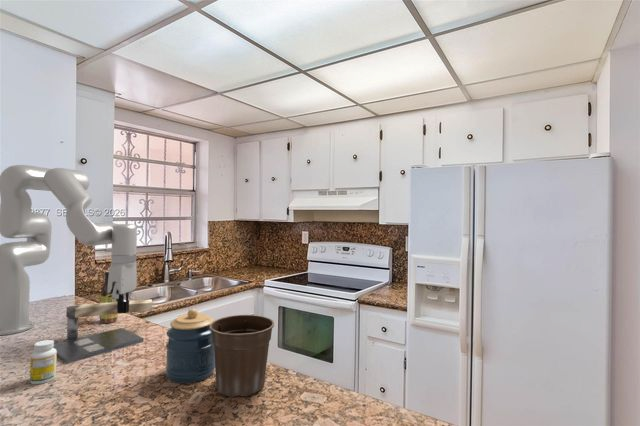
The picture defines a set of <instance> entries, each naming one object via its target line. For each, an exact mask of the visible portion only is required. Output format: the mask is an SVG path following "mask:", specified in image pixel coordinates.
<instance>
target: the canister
mask: <svg viewBox="0 0 640 426" xmlns="http://www.w3.org/2000/svg"><path fill="white" fill-rule="evenodd" d="M213 321H215V320H214V319H213V317H211V316H209V315H208V314H206V313H201V312H198V311H197V309H196V308H190V309H189V310H188V311H187V313H184V314H182V315H179V316H177V317H175V318H174V319H173V320H171V322H170V323H169V325H170V328H168V329H167V330H166V336H167V337H168V339H167V340H168V341H167V343H166V345H165V346H166V366H165V374H166V378H167V379H168V380H169V381H170V382H173V383H176V384H191V382H192V383H196V381H197V382H200V381H203V380H205V379H208V378H209V377H211V375H213V374H214V372H215V353H214V344H213V342H212V331H211V330H210V324H211V323H212V322H213Z"/></svg>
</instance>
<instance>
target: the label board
mask: <svg viewBox="0 0 640 426" xmlns="http://www.w3.org/2000/svg"><path fill="white" fill-rule="evenodd" d="M66 318H67V322H66V324H67V325H66V326H67V327H66V330H67V331H66V341H62V342H61V341H60V342H58V343H54V346H53V348H55V349H56V350H57V358H58V359H60V360H61V361H62V362H63V363H65V364H66V365H67V364H71V363H74V362H78V361H81V360H85V359H88V358H91V357H95V356H99V355H102V354H106V353H109V352H112V351H116V350H120V349H122V348H126V347H130V346H134V345H137V344H140V343H144V339H145V338H144V337H142V336H139V335H138V334H136V333H133V332H131V331H129V330H127V329H125V328H123V327H120V328H115V329H111V330H107V331H103V332H100V333H95V334H92V335H91V334H90V335H87V336H81V337H78V336H79V317H77V318H75V317H70V318H69V317H66Z"/></svg>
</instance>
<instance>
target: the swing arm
mask: <svg viewBox="0 0 640 426" xmlns="http://www.w3.org/2000/svg"><path fill="white" fill-rule="evenodd" d="M128 301H129V312H127V313H126V314H131V313H141V312H151V311H152V308H153V307H152V304H153V302H152V301H153V300H152V299H138V300H137V299H136V300H128ZM65 312H66V313H65V314H66V318H68V317H69V318H70V317H75V318H77V317H78V318H87V317H97V316H100V315H110V314H118V315H119V314H122V313H117V302H110V303H100V302H98V303H87V304H86V303H85V304H77V305H71V306H67V307H66V311H65Z"/></svg>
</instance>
